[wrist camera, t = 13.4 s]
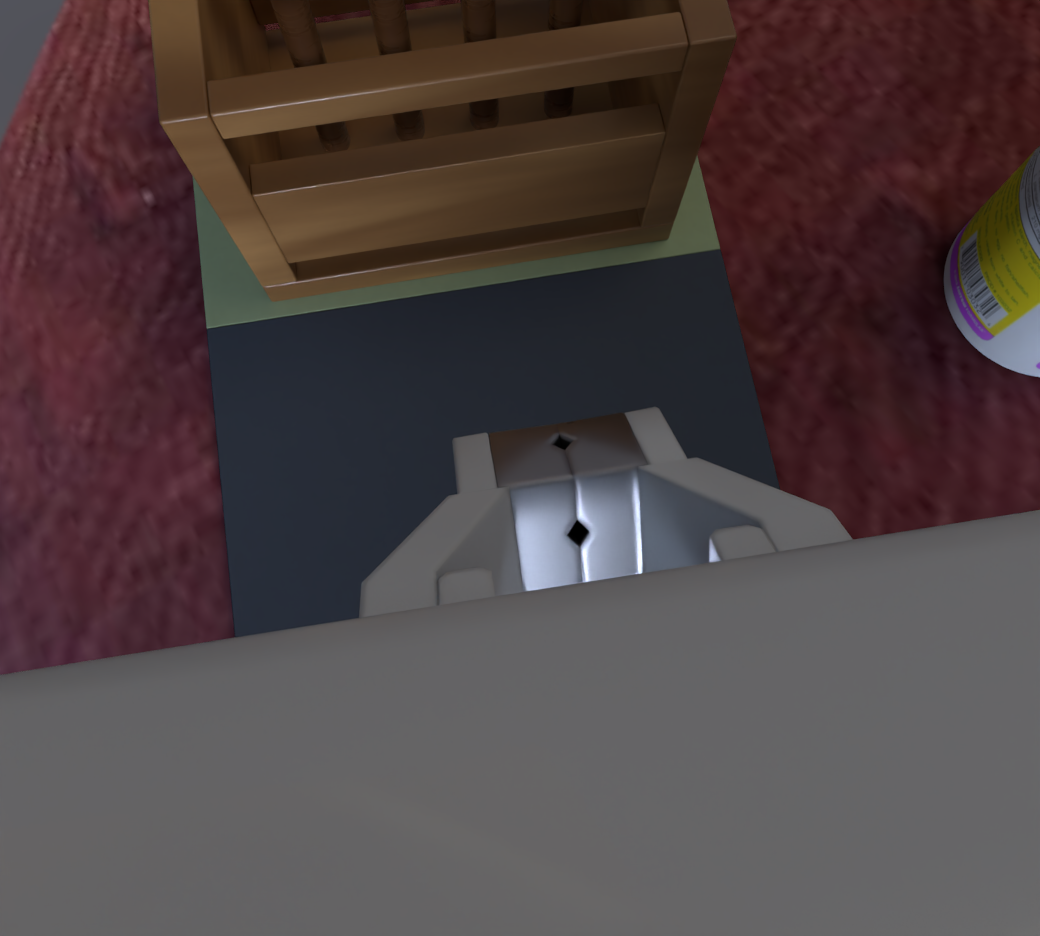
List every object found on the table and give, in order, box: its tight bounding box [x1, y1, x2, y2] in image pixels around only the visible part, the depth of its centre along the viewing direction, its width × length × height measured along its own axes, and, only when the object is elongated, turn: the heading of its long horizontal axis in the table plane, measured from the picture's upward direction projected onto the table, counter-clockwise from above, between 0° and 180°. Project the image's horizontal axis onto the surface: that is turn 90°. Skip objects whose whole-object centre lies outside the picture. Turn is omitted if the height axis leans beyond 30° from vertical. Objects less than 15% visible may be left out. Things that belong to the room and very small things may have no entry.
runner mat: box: [193, 157, 780, 637], centre depth 31 cm, size 24×18×1 cm
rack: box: [148, 0, 737, 302], centre depth 27 cm, size 10×14×10 cm
